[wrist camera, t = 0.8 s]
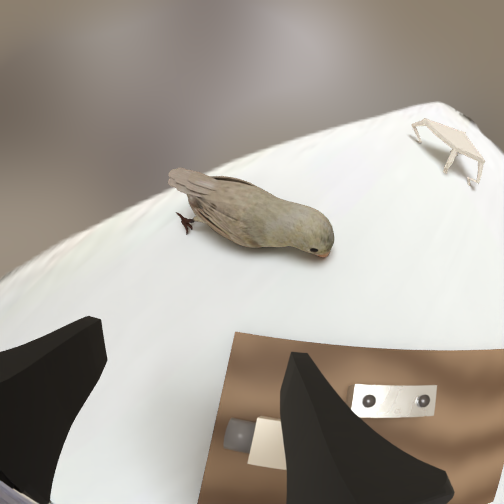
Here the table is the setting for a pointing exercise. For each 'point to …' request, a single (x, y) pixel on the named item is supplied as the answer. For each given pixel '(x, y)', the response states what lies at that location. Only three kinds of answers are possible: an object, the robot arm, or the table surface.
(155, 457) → the table surface
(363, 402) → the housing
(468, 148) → the white arched legged piece
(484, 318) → the table surface
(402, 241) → the table surface
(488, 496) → the base board
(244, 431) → the plug
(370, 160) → the table surface
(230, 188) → the decorative bird
